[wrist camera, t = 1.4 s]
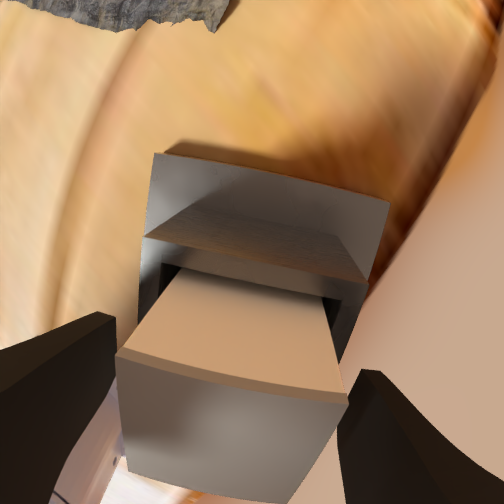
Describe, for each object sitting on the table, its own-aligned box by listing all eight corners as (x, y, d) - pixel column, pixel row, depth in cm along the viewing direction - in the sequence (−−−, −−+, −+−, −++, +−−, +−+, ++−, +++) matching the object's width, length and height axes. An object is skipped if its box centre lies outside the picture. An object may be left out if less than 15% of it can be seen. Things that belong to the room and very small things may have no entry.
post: (286, 340, 14) (287, 505, 6) (194, 320, 15) (126, 471, 6) (311, 252, 13) (353, 401, 5) (207, 231, 13) (111, 351, 5)
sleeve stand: (322, 378, 16) (335, 464, 11) (144, 340, 17) (98, 414, 11) (383, 199, 13) (448, 233, 8) (162, 152, 13) (90, 157, 8)
